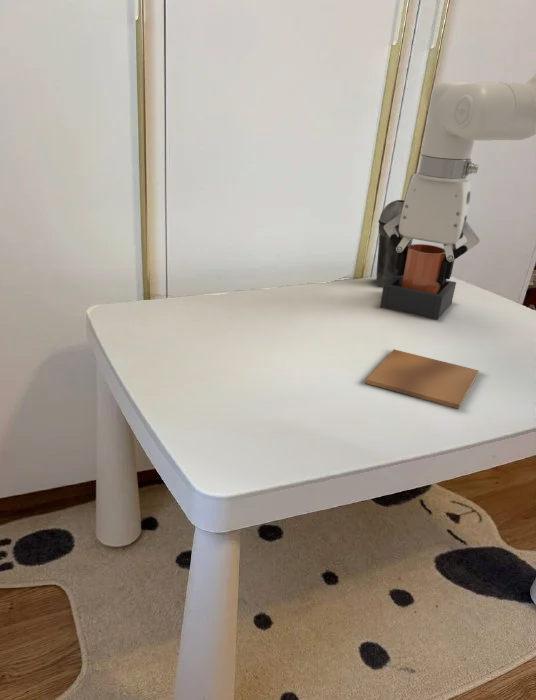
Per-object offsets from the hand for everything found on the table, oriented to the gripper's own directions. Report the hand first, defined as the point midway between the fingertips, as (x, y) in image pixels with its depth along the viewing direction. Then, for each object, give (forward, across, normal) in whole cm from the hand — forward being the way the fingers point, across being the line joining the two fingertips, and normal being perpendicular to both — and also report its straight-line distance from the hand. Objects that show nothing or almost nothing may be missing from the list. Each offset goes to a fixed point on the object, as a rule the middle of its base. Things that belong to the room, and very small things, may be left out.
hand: (421, 277), depth 108 cm
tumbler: (+5, 0, 0) cm, 5 cm away
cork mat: (+5, -9, +29) cm, 31 cm away
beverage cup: (+5, +8, -9) cm, 13 cm away
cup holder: (+5, 0, 0) cm, 5 cm away
